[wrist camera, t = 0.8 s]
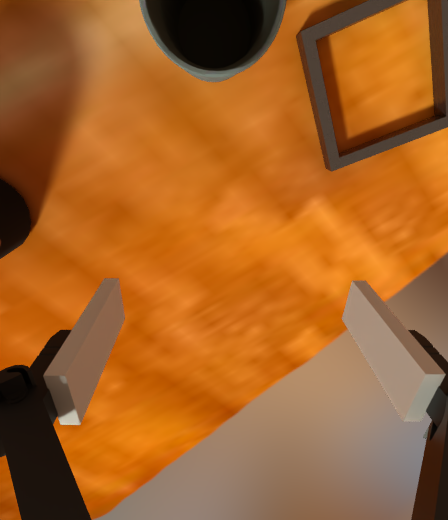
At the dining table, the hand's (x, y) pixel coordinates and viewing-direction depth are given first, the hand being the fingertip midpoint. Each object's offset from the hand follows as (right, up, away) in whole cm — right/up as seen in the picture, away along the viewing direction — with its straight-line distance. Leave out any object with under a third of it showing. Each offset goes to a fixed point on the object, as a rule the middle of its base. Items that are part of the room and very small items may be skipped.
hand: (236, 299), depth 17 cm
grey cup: (-2, +26, +14) cm, 29 cm away
